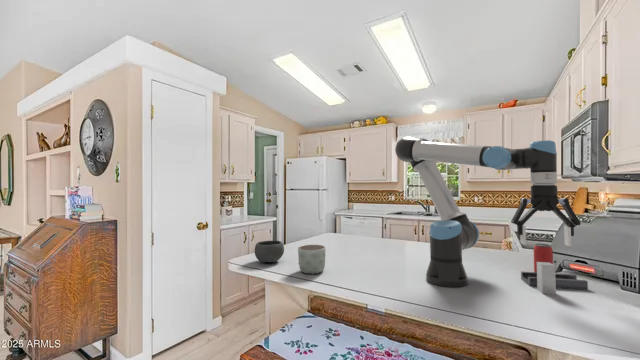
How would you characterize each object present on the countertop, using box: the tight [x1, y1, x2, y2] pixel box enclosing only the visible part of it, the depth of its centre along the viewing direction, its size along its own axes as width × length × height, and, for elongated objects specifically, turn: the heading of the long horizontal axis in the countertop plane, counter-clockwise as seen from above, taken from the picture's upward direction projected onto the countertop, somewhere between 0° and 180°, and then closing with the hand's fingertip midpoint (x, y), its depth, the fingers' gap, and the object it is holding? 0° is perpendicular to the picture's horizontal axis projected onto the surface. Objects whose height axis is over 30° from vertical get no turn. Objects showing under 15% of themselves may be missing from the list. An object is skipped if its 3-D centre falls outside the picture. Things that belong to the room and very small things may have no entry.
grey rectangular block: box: [536, 262, 557, 295], centre depth 105 cm, size 4×4×10 cm
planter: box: [297, 244, 327, 275], centre depth 134 cm, size 12×12×11 cm
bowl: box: [254, 240, 285, 263], centre depth 152 cm, size 15×15×10 cm
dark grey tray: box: [520, 271, 589, 291], centre depth 113 cm, size 18×8×3 cm, turn 75°
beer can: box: [533, 243, 554, 272], centre depth 127 cm, size 7×7×12 cm
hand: (545, 244), depth 105 cm, fingers open, 13 cm apart
